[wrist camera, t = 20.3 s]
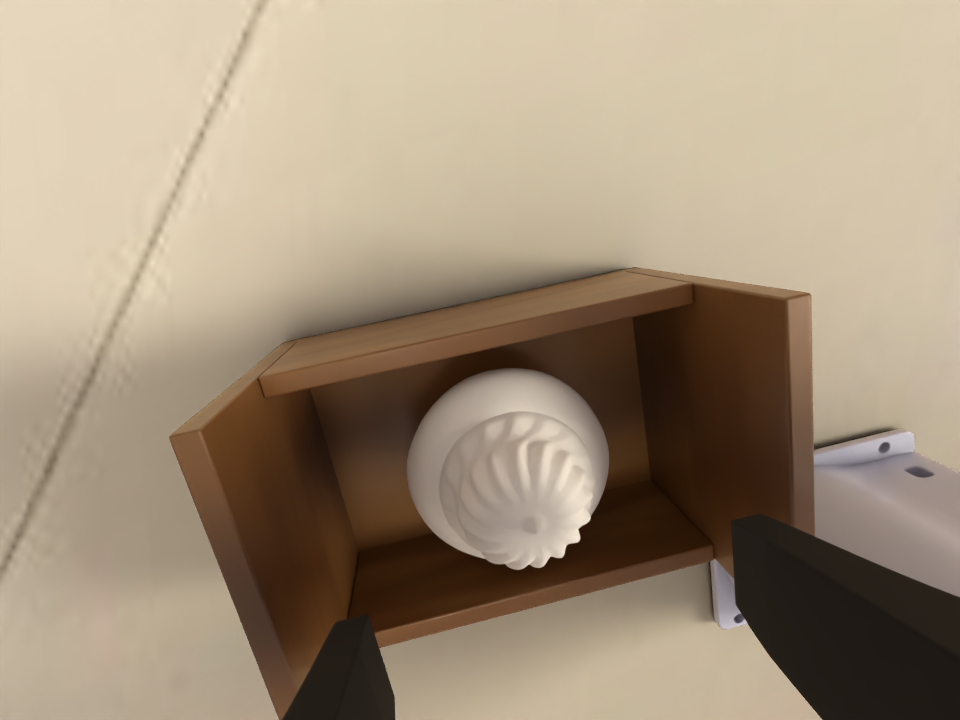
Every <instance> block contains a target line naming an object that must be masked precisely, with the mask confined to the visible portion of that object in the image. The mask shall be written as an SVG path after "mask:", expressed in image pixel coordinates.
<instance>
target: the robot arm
mask: <svg viewBox="0 0 960 720" xmlns="http://www.w3.org/2000/svg"><path fill="white" fill-rule="evenodd" d="M880 445H881V446H880ZM879 446H880V447H879ZM914 446H915V437H914V435H913V433H911V432H909V431H907V430H904V429H896V430H892V431H888V432H884V433H880V434H876V435H872V436H868V437H864V438H860V439H856V440H852V441H848V442H844V443H840V444H836V445H832V446H828V447H823V448H819V449H815V450H814V496H815V536H813V535H810V534H808V533H806V532H804V531H801V530H799V529H797V528H794V527H792V526H790V525H788V524H785V523H783V522H781V521H778V520H776V519H773V518H771V517H768V516H766V515H763V514H761V513H759V514H755V515H751V516H747V517H743V518H739V519H735V520H731V533H732V551H733V568H734V579H733V578H732V576H731V575H730V574H729V573H728V572H727V571H726V570H725V569H724V568H723V567H722V566H721V565H720V564H719V562H718V561H717V560H716V559H714V560H713V561H710V565H711V579H712V594H713V608H714V619H715V622H716V623H717V624H718V626H719V627H720V628H721V629H732V628H735V627H739V626H742V625H746V624H748V625H749V626H750V628H751V629H752V631H753V632H754V634H755V635H756V637H757V638H758V640H759V641H760V643H761V644H762V646H763V647H764V648H765V650H766V651H767V653H768V654H769V656H770V657H771V658H772V659H773V661H774V662H775V663H776V664H777V666H778V667H779V668H780V669H781V670H782V672H783V673H784V674H785V675H786V676H787V678H788V679H789V680H790V681H791V683H792V684H793V685H794V686H795V687H796V689H797V690H798V691H799V692H800V693H801V695H802V696H803V697H804V698H805V699H806V701H807V702H808V703H809V704H810V705H811V706H812V708H813V709H814V710H815V711H816V712H817V714H818V715H819V716H820V717H821V718H822V720H960V473H959V472H957V471H955V470H953V469H951V468H948V467H946V466H944V465H942V464H939V463H937V462H935V461H933V460H931V459H928V458H926V457H924V456H922V455H920V454H917V453H915V452H914ZM282 720H395V699H394V694H393V691H392V688H391V684H390V681H389V678H388V675H387V672H386V669H385V665H384V662H383V659H382V656H381V653H380V649H379V646H378V643H377V640H376V637H375V634H374V630H373V627H372V624H371V621H370V618H369V614H365V615H361V616H357V617H353V618H350V619H346V620H342V621H338V622H336V623H335V624H334V625H333V627H332V628H331V630H330V632H329V634H328V636H327V638H326V640H325V642H324V643H323V645H322V647H321V649H320V651H319V653H318V655H317V657H316V659H315V660H314V662H313V664H312V666H311V668H310V670H309V672H308V674H307V675H306V677H305V679H304V681H303V683H302V685H301V686H300V688H299V690H298V692H297V694H296V695H295V697H294V699H293V701H292V703H291V704H290V706H289V708H288V710H287V711H286V713H285V715H284V716H283V718H282Z"/></svg>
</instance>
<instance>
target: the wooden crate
mask: <svg viewBox="0 0 960 720" xmlns="http://www.w3.org/2000/svg"><path fill="white" fill-rule="evenodd" d="M503 368H523V369H531V370H536V371H540V372H543V373H546V374H549V375H551V376H553V377H555V378H557V379H559V380H561V381H563V382H564V383H566V384H567V385H569V386H570V387H571V388H573V389H574V390H575V391H576V392H577V393H578V394H579V395H580V396H581V397H582V398H583V399H584V400H585V401H586V402H587V404H588V405H589V406H590V408H591V409H592V411H593V412H594V414H595V415H596V417H597V419H598V421H599V422H600V424H601V426H602V429H603V431H604V434H605V437H606V440H607V444H608V451H609V469H608V476H607V481H606V485H605V488H604V491H603V494H602V497H601V499H600V501H599V503H598V505H597V507H596V509H595V510H594V512H593V513H592V515H591V516H590V517H591V519H590V521H589V522H588V523H587V524H585V525H583V526H581V527H580V528H579V529H578V530H579V534H580V541H579V542H577V543H571V544H568V545H567V546H566V549H565V554H564V556H563V557H562V558H555V557H552V556H551V557H550V558H549V559H548V561H547V563H546V564H545V565H544V566H543V567H541V568H535V567H533V566H531V565H528V566H526V567H525V568H523V569H520V570H515V569H511V568H509V567H508V566H506V564H494V563H491V562H489V561H488V560H486V559H484V558H480V557H476V556H473V555H470V554H467V553H465V552H462V551H460V550H458V549H456V548H454V547H452V546H451V545H449V544H447V543H446V542H444V541H443V540H442V539H440V538H439V537H438V536H437V535H436V534H435V533H434V532H433V531H432V530H431V529H430V528H429V527H428V526H427V524H426V523H425V522H424V520H423V519H422V517H421V516H420V514H419V512H418V511H417V509H416V507H415V505H414V502H413V500H412V497H411V494H410V491H409V487H408V482H407V473H406V471H407V458H408V454H409V450H410V446H411V443H412V440H413V438H414V435H415V433H416V431H417V429H418V427H419V425H420V423H421V421H422V420H423V418H424V416H425V415H426V413H427V412H428V411H429V409H430V408H431V407H432V406H433V404H434V403H435V402H436V401H437V400H438V399H439V398H440V397H441V396H442V395H443V394H444V393H445V392H446V391H448V390H449V389H450V388H452V387H453V386H454V385H456V384H457V383H459V382H461V381H462V380H464V379H466V378H468V377H470V376H473V375H476V374H478V373H482V372H485V371H489V370H495V369H503ZM169 439H170V442H171V444H172V447H173V449H174V452H175V454H176V457H177V460H178V462H179V465H180V467H181V470H182V472H183V475H184V477H185V480H186V483H187V485H188V488H189V490H190V493H191V495H192V498H193V500H194V503H195V506H196V508H197V511H198V513H199V516H200V518H201V521H202V523H203V526H204V529H205V531H206V534H207V536H208V539H209V541H210V544H211V546H212V549H213V552H214V554H215V557H216V559H217V562H218V564H219V567H220V569H221V572H222V575H223V577H224V580H225V582H226V585H227V587H228V590H229V592H230V595H231V598H232V600H233V603H234V605H235V608H236V610H237V613H238V615H239V618H240V621H241V623H242V626H243V628H244V631H245V633H246V636H247V638H248V641H249V644H250V646H251V649H252V651H253V654H254V656H255V659H256V661H257V664H258V667H259V669H260V672H261V674H262V677H263V679H264V682H265V684H266V687H267V690H268V692H269V695H270V697H271V700H272V702H273V705H274V707H275V710H276V713H277V715H278V718H279V720H282V718H283V716H284V715H285V713H286V711H287V710H288V708H289V706H290V704H291V703H292V701H293V699H294V697H295V695H296V694H297V692H298V690H299V688H300V686H301V685H302V683H303V681H304V679H305V677H306V675H307V674H308V672H309V670H310V668H311V666H312V664H313V662H314V660H315V659H316V657H317V655H318V653H319V651H320V649H321V647H322V645H323V643H324V642H325V640H326V638H327V636H328V634H329V632H330V630H331V628H332V627H333V625H334V624H335V623H336V622H338V621H342V620H346V619H350V618H353V617H357V616H361V615H365V614H369V618H370V621H371V624H372V627H373V630H374V634H375V637H376V640H377V643H378V646H379V648H381V647H385V646H388V645H392V644H396V643H400V642H404V641H407V640H411V639H415V638H419V637H423V636H427V635H430V634H434V633H438V632H442V631H446V630H449V629H453V628H457V627H461V626H465V625H469V624H472V623H476V622H480V621H484V620H488V619H491V618H495V617H499V616H503V615H507V614H511V613H514V612H518V611H522V610H526V609H530V608H533V607H537V606H541V605H545V604H549V603H552V602H556V601H560V600H564V599H568V598H572V597H575V596H579V595H583V594H587V593H591V592H594V591H598V590H602V589H606V588H610V587H614V586H617V585H621V584H625V583H629V582H633V581H636V580H640V579H644V578H648V577H652V576H656V575H659V574H663V573H667V572H671V571H675V570H678V569H682V568H686V567H690V566H694V565H697V564H701V563H705V562H709V561H713V560H714V559H716V560H717V561H718V562H719V564H720V565H721V566H722V567H723V568H724V569H725V570H726V571H727V572H728V573H729V574H730V575H731V576H732V578H733V579H734V568H733V551H732V533H731V520H735V519H739V518H743V517H747V516H751V515H755V514H759V513H761V514H763V515H766V516H768V517H771V518H773V519H776V520H778V521H781V522H783V523H785V524H788V525H790V526H792V527H794V528H797V529H799V530H801V531H804V532H806V533H808V534H810V535H813V536H815V496H814V439H813V381H812V324H811V295H810V293H806V292H799V291H793V290H786V289H779V288H772V287H765V286H759V285H752V284H745V283H738V282H731V281H725V280H718V279H711V278H704V277H697V276H691V275H684V274H677V273H670V272H663V271H657V270H650V269H643V268H636V267H634V268H629V269H625V270H620V271H615V272H611V273H606V274H601V275H597V276H592V277H587V278H583V279H578V280H573V281H569V282H564V283H559V284H554V285H550V286H545V287H540V288H536V289H531V290H526V291H522V292H517V293H512V294H508V295H503V296H498V297H494V298H489V299H484V300H480V301H475V302H470V303H466V304H461V305H456V306H451V307H447V308H442V309H437V310H433V311H428V312H423V313H419V314H414V315H409V316H405V317H400V318H395V319H391V320H386V321H381V322H377V323H372V324H367V325H363V326H358V327H353V328H349V329H344V330H339V331H334V332H330V333H325V334H320V335H316V336H311V337H306V338H302V339H297V340H292V341H287V342H284V343H282V344H281V345H280V346H279V347H277V348H276V349H275V350H274V351H273V352H271V353H270V354H269V355H268V356H267V357H265V358H264V359H263V360H262V361H260V362H259V363H258V364H257V365H256V366H254V367H253V368H252V369H251V370H249V371H248V372H247V373H246V374H245V375H243V376H242V377H241V378H240V379H239V380H237V381H236V382H235V383H234V384H232V385H231V386H230V387H229V388H228V389H226V390H225V391H224V392H223V393H221V394H220V395H219V396H218V397H217V398H215V399H214V400H213V401H212V402H211V403H209V404H208V405H207V406H206V407H204V408H203V409H202V410H201V411H200V412H198V413H197V414H196V415H195V416H193V417H192V418H191V419H190V420H189V421H187V422H186V423H185V424H184V425H183V426H181V427H180V428H179V429H178V430H176V431H175V432H174V433H173V434H172V435H170V437H169Z"/></svg>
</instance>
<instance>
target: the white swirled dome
mask: <svg viewBox="0 0 960 720" xmlns="http://www.w3.org/2000/svg"><path fill="white" fill-rule="evenodd" d="M608 469H609V451H608V444H607V440H606V437H605V434H604V431H603V429H602V426H601V424H600V422H599V421H598V419H597V417H596V415H595V414H594V412H593V411H592V409H591V408H590V406H589V405H588V404H587V402H586V401H585V400H584V399H583V398H582V397H581V396H580V395H579V394H578V393H577V392H576V391H575V390H574V389H573V388H571V387H570V386H569V385H567V384H566V383H564V382H563V381H561V380H559V379H557V378H555V377H553V376H551V375H549V374H546V373H543V372H540V371H536V370H531V369H523V368H503V369H495V370H489V371H485V372H482V373H478V374H476V375H473V376H470V377H468V378H466V379H464V380H462V381H461V382H459V383H457V384H456V385H454V386H453V387H452V388H450V389H449V390H448V391H446V392H445V393H444V394H443V395H442V396H441V397H440V398H439V399H438V400H437V401H436V402H435V403H434V404H433V406H432V407H431V408H430V409H429V411H428V412H427V413H426V415H425V416H424V418H423V420H422V421H421V423H420V425H419V427H418V429H417V431H416V433H415V435H414V438H413V440H412V443H411V446H410V450H409V454H408V458H407V471H406V473H407V482H408V487H409V491H410V494H411V497H412V500H413V502H414V505H415V507H416V509H417V511H418V512H419V514H420V516H421V517H422V519H423V520H424V522H425V523H426V524H427V526H428V527H429V528H430V529H431V530H432V531H433V532H434V533H435V534H436V535H437V536H438V537H439V538H440V539H442V540H443V541H444V542H446V543H447V544H449V545H451V546H452V547H454V548H456V549H458V550H460V551H462V552H465V553H467V554H470V555H473V556H476V557H480V558H484V559H486V560H488V561H489V562H491V563H494V564H506V566H508V567H509V568H511V569H515V570H520V569H523V568H525V567H526V566H528V565H531V566H533V567H535V568H541V567H543V566H544V565H545V564H546V563H547V561H548V559H549V558H550V557H551V556H552V557H555V558H562V557H563V556H564V554H565V549H566V546H567V545H568V544H571V543H577V542H579V541H580V534H579V530H578V529H579V528H580V527H581V526H583V525H585V524H587V523H588V522H589V521H590V519H591V517H590V516H591V515H592V513H593V512H594V510H595V509H596V507H597V505H598V503H599V501H600V499H601V497H602V494H603V491H604V488H605V485H606V481H607V476H608Z"/></svg>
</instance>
